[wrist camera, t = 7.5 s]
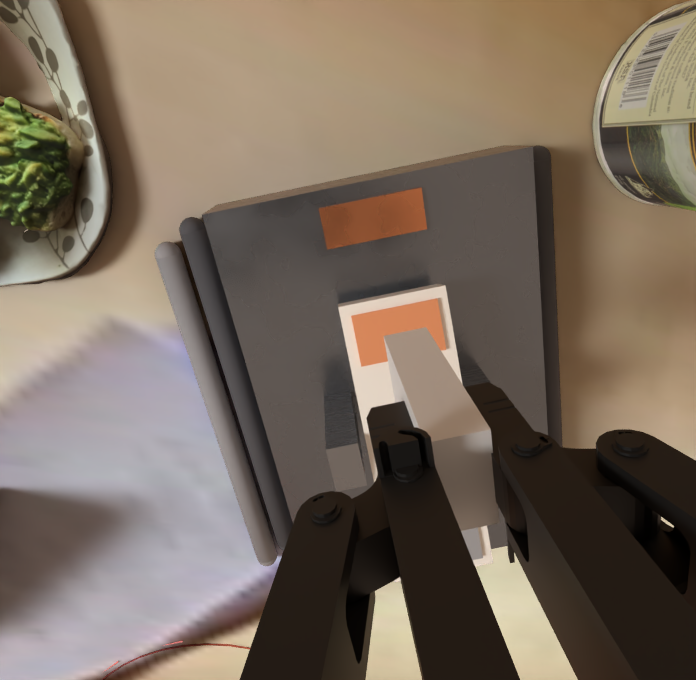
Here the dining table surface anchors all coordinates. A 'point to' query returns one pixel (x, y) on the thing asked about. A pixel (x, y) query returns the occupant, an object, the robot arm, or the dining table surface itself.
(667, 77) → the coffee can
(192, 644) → the figurine
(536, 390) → the lever switch plate
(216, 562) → the dining table surface
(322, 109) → the dining table surface
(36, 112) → the salad plate
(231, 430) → the rods
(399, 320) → the rocker
